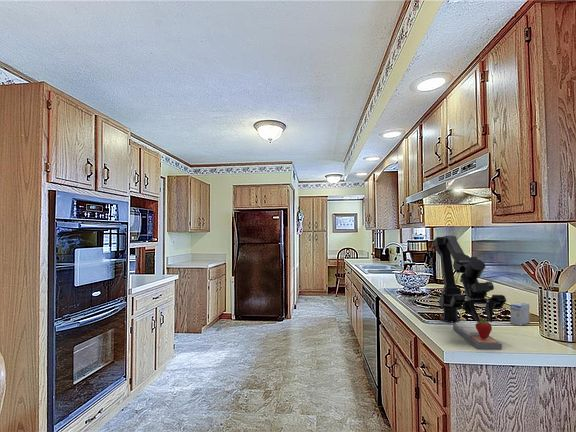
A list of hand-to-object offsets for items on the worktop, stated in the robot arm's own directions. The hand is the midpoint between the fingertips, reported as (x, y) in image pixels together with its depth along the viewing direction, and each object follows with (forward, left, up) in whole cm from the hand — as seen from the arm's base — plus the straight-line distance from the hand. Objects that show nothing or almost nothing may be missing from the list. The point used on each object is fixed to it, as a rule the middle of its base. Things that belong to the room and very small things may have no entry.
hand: (485, 321), depth 130 cm
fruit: (-1, -1, -7) cm, 7 cm away
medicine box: (-42, +2, -9) cm, 43 cm away
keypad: (-6, -6, -9) cm, 12 cm away
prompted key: (-1, -1, -9) cm, 9 cm away
